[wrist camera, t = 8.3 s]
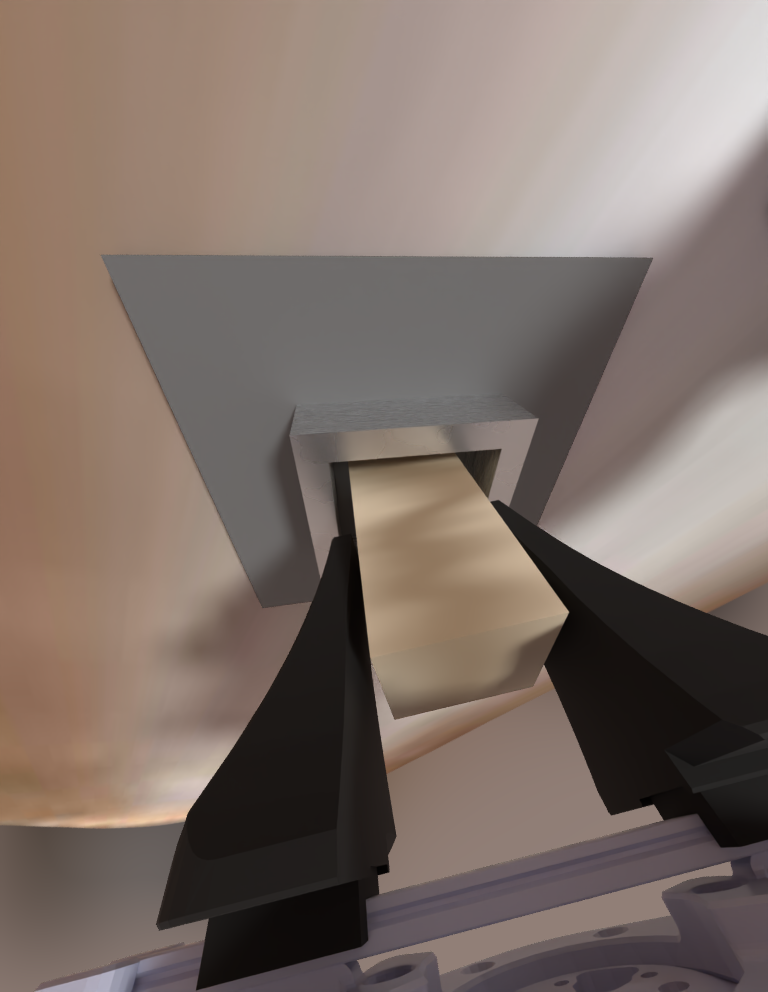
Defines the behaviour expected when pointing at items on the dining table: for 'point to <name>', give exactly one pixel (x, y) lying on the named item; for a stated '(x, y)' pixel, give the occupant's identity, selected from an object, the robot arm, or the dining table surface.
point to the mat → (361, 366)
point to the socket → (406, 446)
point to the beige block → (445, 586)
